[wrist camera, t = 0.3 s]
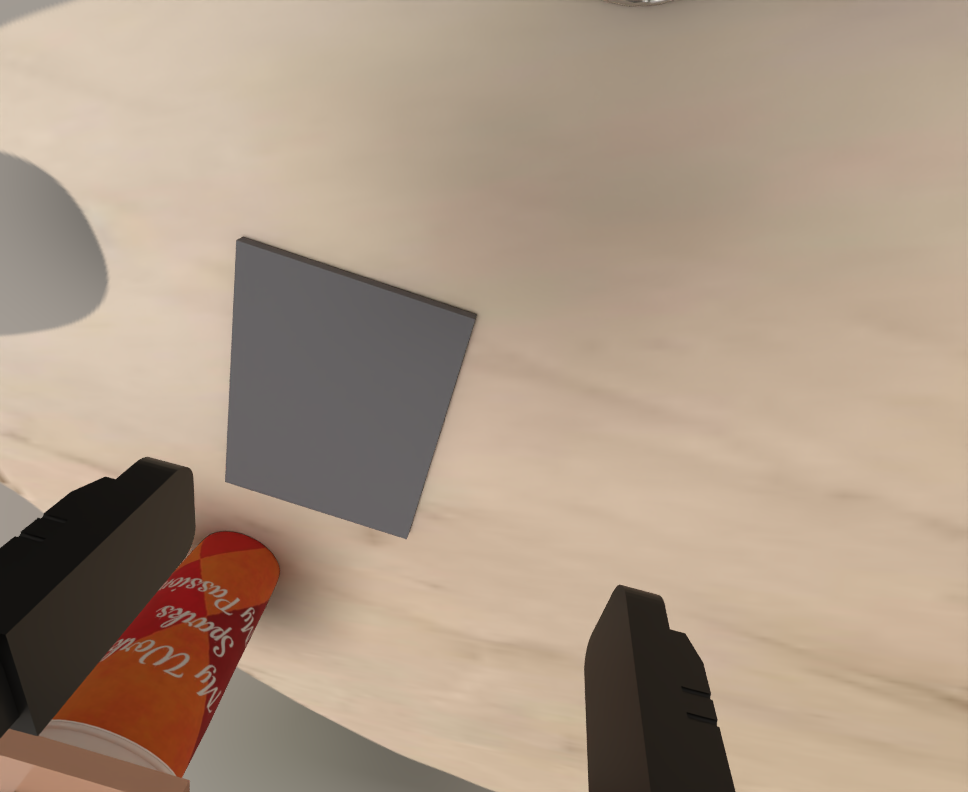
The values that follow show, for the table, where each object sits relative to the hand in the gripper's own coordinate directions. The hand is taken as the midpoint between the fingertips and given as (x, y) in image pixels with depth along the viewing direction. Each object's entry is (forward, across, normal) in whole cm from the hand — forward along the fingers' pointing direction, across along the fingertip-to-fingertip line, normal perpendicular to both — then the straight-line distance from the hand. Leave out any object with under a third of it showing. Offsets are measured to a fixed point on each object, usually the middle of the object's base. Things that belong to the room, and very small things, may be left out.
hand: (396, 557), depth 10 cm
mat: (+19, +7, +10) cm, 22 cm away
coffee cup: (+20, +13, +25) cm, 34 cm away
